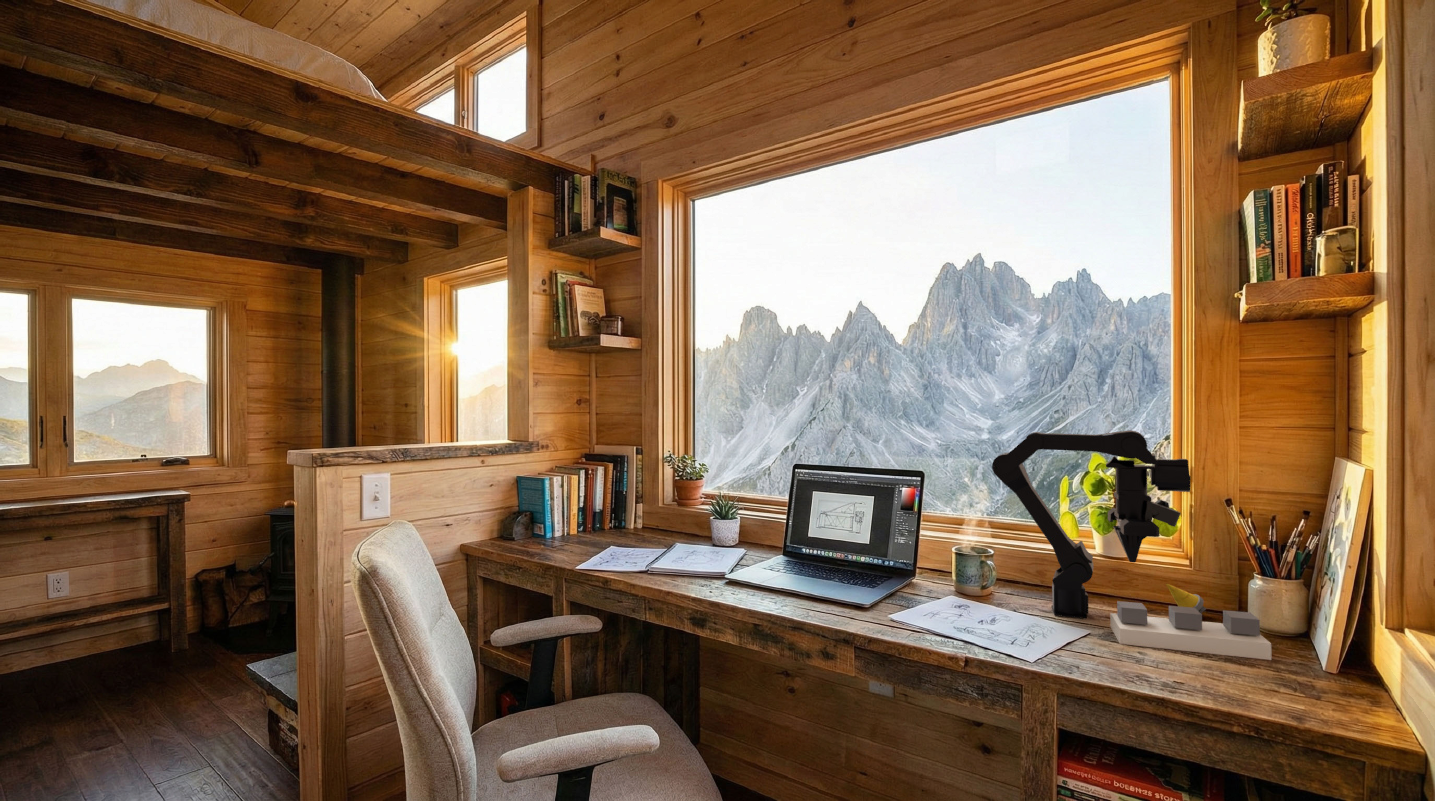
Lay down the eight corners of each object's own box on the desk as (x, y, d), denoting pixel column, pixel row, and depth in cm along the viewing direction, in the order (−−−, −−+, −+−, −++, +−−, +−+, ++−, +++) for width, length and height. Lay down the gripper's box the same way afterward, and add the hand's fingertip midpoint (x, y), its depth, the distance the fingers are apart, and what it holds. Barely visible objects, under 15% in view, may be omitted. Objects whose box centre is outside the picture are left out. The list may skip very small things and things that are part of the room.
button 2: (1231, 648, 125) (1231, 617, 125) (1223, 640, 129) (1223, 610, 129) (1259, 651, 123) (1259, 619, 123) (1250, 643, 128) (1250, 612, 128)
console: (1120, 643, 129) (1119, 628, 129) (1110, 627, 139) (1110, 612, 139) (1271, 659, 121) (1271, 643, 121) (1250, 641, 130) (1250, 625, 130)
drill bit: (1210, 623, 142) (1172, 590, 143) (1188, 626, 146) (1152, 594, 148) (1217, 604, 144) (1180, 572, 146) (1196, 608, 149) (1160, 576, 150)
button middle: (1175, 642, 128) (1174, 612, 128) (1169, 635, 132) (1168, 605, 132) (1202, 645, 127) (1201, 614, 127) (1195, 637, 131) (1194, 607, 131)
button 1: (1121, 637, 132) (1121, 607, 132) (1117, 630, 136) (1117, 601, 136) (1147, 640, 130) (1147, 609, 130) (1142, 632, 134) (1142, 603, 134)
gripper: (1189, 496, 130) (1190, 576, 130) (1164, 485, 147) (1165, 555, 147) (1123, 494, 134) (1124, 571, 134) (1107, 483, 151) (1107, 551, 151)
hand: (1132, 561), depth 141 cm, fingers closed
